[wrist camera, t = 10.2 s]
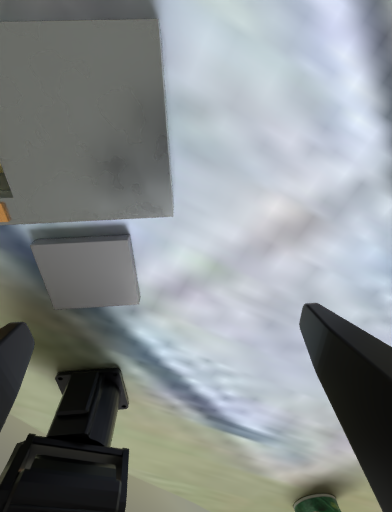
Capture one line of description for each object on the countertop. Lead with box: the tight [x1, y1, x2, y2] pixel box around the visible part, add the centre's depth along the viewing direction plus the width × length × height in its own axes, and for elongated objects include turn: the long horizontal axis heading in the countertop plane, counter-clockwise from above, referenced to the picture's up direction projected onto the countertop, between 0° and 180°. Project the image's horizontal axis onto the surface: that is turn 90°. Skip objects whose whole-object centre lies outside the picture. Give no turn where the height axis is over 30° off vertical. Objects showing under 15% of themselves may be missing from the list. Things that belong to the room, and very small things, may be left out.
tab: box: [30, 235, 140, 310], centre depth 21 cm, size 6×7×1 cm
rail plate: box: [0, 19, 174, 225], centre depth 15 cm, size 10×17×2 cm, turn 92°
